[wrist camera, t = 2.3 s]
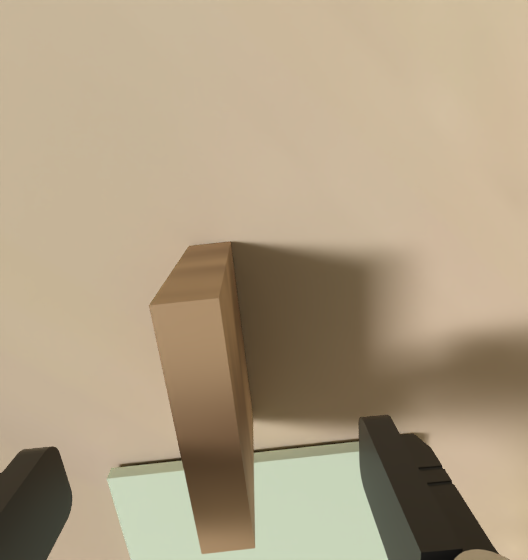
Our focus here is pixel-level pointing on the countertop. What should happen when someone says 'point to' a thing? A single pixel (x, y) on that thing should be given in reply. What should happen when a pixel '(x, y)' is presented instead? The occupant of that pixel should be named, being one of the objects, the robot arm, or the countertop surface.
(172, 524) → the mat
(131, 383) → the countertop surface
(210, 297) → the brown wooden block
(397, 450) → the robot arm
